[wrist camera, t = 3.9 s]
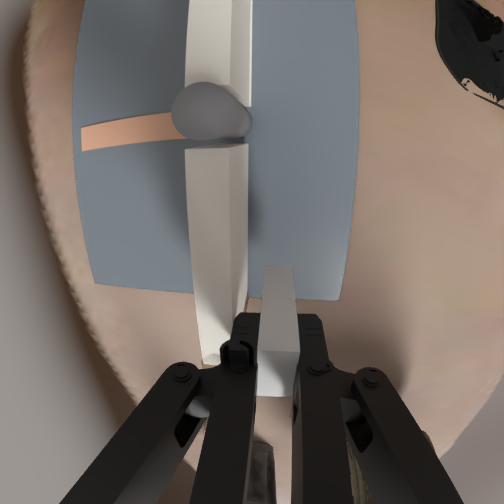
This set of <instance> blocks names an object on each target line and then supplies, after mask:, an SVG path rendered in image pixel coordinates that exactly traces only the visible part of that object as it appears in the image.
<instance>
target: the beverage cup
mask: <svg viewBox="0 0 504 504" xmlns="http://www.w3.org/2000/svg"><path fill="white" fill-rule="evenodd" d="M246 504H277V501H276V481H275V462H274V454H273V447H272V446H270V445H268V444H265V443H258V442H253V443H252V453H251V463H250V473H249V482H248V491H247V500H246Z"/></svg>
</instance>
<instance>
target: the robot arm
mask: <svg viewBox="0 0 504 504" xmlns="http://www.w3.org/2000/svg"><path fill="white" fill-rule="evenodd" d="M219 351H220V361H221V363H220V364H219V365H217V366H215V367H211V368H206V369H198V368H197V367H196V366H195V365H193V364H191V363H188V362H178V363H175V364H173V365H171V366H169V367H168V368H167V369H166V370H165V372H164V373H163V374H162V375H161V377H160V378H159V379H158V380H157V382H156V383H155V384H154V386H153V387H152V388H151V389H150V391H149V392H148V393H147V394H146V396H145V397H144V398H143V399H142V401H141V402H140V403H139V405H138V406H137V407H136V408H135V410H134V411H133V412H132V413H131V415H130V416H129V417H128V419H127V420H126V421H125V422H124V424H123V425H122V426H121V427H120V428H119V430H118V431H117V432H116V433H115V435H114V436H113V437H112V438H111V440H110V441H109V442H108V444H107V445H106V446H105V447H104V449H103V450H102V451H101V452H100V454H99V455H98V456H97V457H96V459H95V460H94V461H93V462H92V464H91V465H90V466H89V467H88V469H87V470H86V471H85V472H84V474H83V475H82V476H81V477H80V478H79V480H78V481H77V482H76V484H75V485H74V486H73V487H72V488H71V490H70V491H69V492H68V494H67V495H66V496H65V497H64V498H63V500H62V501H61V502H60V503H59V504H155V503H156V501H157V499H158V498H159V496H160V495H161V493H162V492H163V490H164V488H165V487H166V485H167V484H168V482H169V480H170V479H171V477H172V476H173V474H174V472H175V471H176V469H177V467H178V466H179V464H180V462H181V461H182V459H183V457H184V456H185V454H186V452H187V451H188V449H189V447H190V446H191V444H192V442H193V441H194V439H195V437H196V435H197V434H198V432H199V430H200V429H201V427H202V425H203V423H204V422H205V420H206V418H207V417H209V419H208V423H207V427H206V432H205V436H204V441H203V445H202V450H201V454H200V458H199V463H198V467H197V472H196V476H195V481H194V485H193V490H192V494H191V499H190V504H246V500H247V491H248V482H249V473H250V463H251V453H252V443H253V433H254V422H255V412H256V396H275V397H292V396H293V405H292V410H291V415H290V417H292V487H291V504H353V497H352V486H351V476H350V467H349V458H348V450H347V443H346V438H347V440H348V443H349V445H350V447H351V449H352V452H353V454H354V456H355V459H356V461H357V463H358V465H359V468H360V470H361V472H362V474H363V477H364V479H365V481H366V484H367V486H368V488H369V490H370V493H371V495H372V497H373V500H374V502H375V504H464V503H463V501H462V499H461V498H460V496H459V494H458V492H457V490H456V489H455V487H454V485H453V483H452V481H451V479H450V478H449V476H448V474H447V472H446V471H445V469H444V467H443V466H442V464H441V462H440V460H439V459H438V457H437V455H436V454H435V452H434V450H433V449H432V447H431V445H430V444H429V442H428V440H427V439H426V437H425V435H424V434H423V432H422V431H421V429H420V427H419V426H418V424H417V423H416V421H415V419H414V418H413V416H412V415H411V413H410V411H409V410H408V408H407V407H406V405H405V404H404V402H403V401H402V399H401V397H400V396H399V394H398V393H397V391H396V390H395V388H394V387H393V385H392V384H391V382H390V381H389V379H388V378H387V376H386V375H385V374H384V373H383V372H382V371H381V370H379V369H377V368H372V367H367V368H363V369H360V370H359V371H358V372H357V373H356V374H352V373H348V372H344V371H340V370H338V369H337V368H335V367H334V366H333V364H332V363H331V362H330V361H329V358H328V352H327V347H326V342H325V336H324V331H323V326H322V321H321V320H320V319H319V317H318V316H317V315H316V314H297V308H296V297H295V287H294V277H293V268H292V267H270V266H265V273H264V284H263V295H262V306H261V313H247V312H240V313H239V314H238V315H237V316H236V317H235V318H234V323H233V327H232V331H231V336H230V340H227V341H226V342H224V343H223V344H222V345H221V347H220V349H219Z"/></svg>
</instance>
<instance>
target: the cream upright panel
mask: <svg viewBox="0 0 504 504" xmlns="http://www.w3.org/2000/svg"><path fill="white" fill-rule="evenodd" d="M185 173H186V196H187V214H188V229H189V243H190V255H191V266H192V277H193V286H194V296H195V305H196V313H197V321H198V329H199V337H200V344H201V351H202V362H201V363H202V367H203V368H204V369H206V368H211V367H215V366H217V365H219V364H220V363H221V361H220V351H219V349H220V347H221V345H222V344H223V343H224V342H226V341H227V340H230V336H231V331H232V327H233V323H234V318H235V317H236V316H237V315H238V314H239V313H240V312H246V310H247V304H248V298H249V292H248V143H225V144H215V145H208V146H202V147H196V148H190V149H185Z"/></svg>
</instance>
